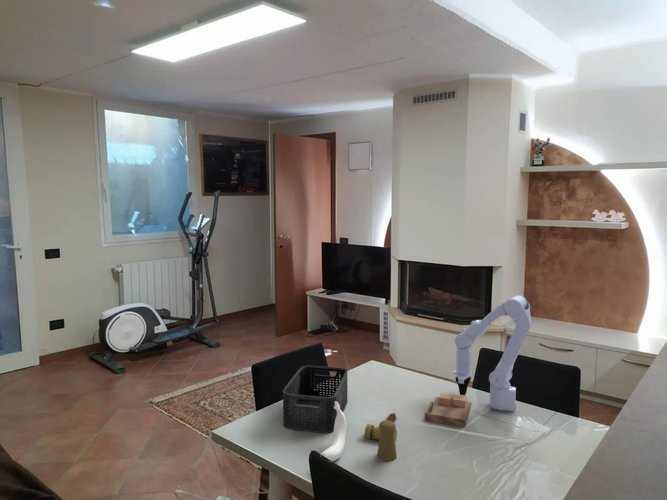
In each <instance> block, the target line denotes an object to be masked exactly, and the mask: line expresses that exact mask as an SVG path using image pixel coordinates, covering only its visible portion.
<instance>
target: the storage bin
mask: <svg viewBox="0 0 667 500" xmlns="http://www.w3.org/2000/svg"><path fill="white" fill-rule="evenodd" d="M315 371H320V372H321V371H322V372H330V373H331V372H334V373H335V375H323V374H316V373H315ZM348 378H349V377H348V369H346V368H344V367H337V366H336V367H335V366H334V367H333V366H332V367H331V366H323V365H321V366H319V365H312V364H311V365H303V366H300V367H299V368H298V370H297V371H296V373H295V374H294V375H293V376H292V377H291V379H290V380H289V382H288V383H287V384H286V386H285V387H284V388H283V390H282V405H283V406H282V409H283V410H282V411H283V412H282V415H283V417H282V425H283V428H284V429H286V430H295V431H303V432H311V433H320V434H321V433H322V434H330V433H333V431H334V424H335V419H336V416H337V411H336V409H334V406H335V401H337V402H338V404H339V406H340V410H341V411H342V412H343V413H345V410H346V407H347V405H348V403H349V401H348V396H349V395H348Z"/></svg>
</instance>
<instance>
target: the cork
mask: <svg viewBox="0 0 667 500" xmlns="http://www.w3.org/2000/svg"><path fill="white" fill-rule="evenodd" d="M378 425H379V426H378V427H379V430H380V432H381V433H380V440H378V441H379V442H378V448H377V455H376V457H377V458H378V459H379V460H381V461H384V462H392V461H395V460H397V457H398V455H397V448H396V447H397V446H396V442H395V438H394V433H395V430H397V427H396V426H397V425H396V424H395V421H394V422H392V421H390V420H386V419H384V420H382V421H381V422H380V423H379V424H378Z"/></svg>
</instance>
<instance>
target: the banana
mask: <svg viewBox="0 0 667 500" xmlns="http://www.w3.org/2000/svg"><path fill="white" fill-rule="evenodd" d="M334 409H336V411H337V416H336V419H335V424H334V431H333V432H332V438H331V443H330V446H329V447H327V448H326V449H325V450H323V451H322V452H321V453H320V456H321V455H323V456H325V457H326V458H328V459H330V460H331V461H330V462H333V461H337V460H338V459H340V457H341V456H342V454H343V452H344V448H345V443H346V437H347V436H346V435H347V419H346V418H347V417H346V415H345V414H344V413H345V412H342V411H341V410H340V406H339V404H338V402H337V401H335V406H334Z"/></svg>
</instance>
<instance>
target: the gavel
mask: <svg viewBox="0 0 667 500" xmlns="http://www.w3.org/2000/svg"><path fill="white" fill-rule="evenodd" d="M396 419H397V415H396V413H395V412H392V413H390V414H389V415H388V416H387V418H386V419H385V420H390V421H392V422H394V423H395V420H396ZM380 433H381V432H380V430H379V426H375V425H374V424H370V423H367V424H366V425H365V429H364V438H365V439H367V440H372V439H374V440H378V441H379V440H380ZM397 436H398V431H397V429H396V430H395V433H394V438H395V443H396V441H397Z"/></svg>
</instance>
